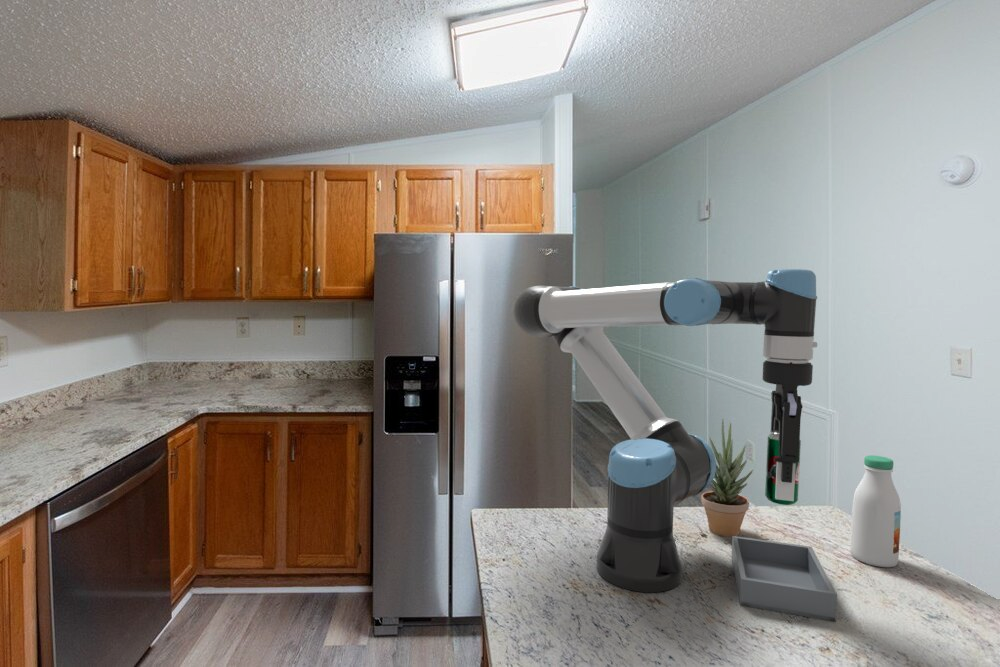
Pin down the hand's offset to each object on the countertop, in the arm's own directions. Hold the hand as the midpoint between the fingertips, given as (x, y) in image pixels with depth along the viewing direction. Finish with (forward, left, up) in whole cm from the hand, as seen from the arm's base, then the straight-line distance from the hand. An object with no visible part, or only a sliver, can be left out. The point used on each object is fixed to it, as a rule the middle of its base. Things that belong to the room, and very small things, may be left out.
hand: (781, 493), depth 94 cm
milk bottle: (+20, +18, -17) cm, 31 cm away
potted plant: (-7, +22, -17) cm, 29 cm away
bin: (0, 0, -17) cm, 17 cm away
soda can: (0, 0, -1) cm, 1 cm away
